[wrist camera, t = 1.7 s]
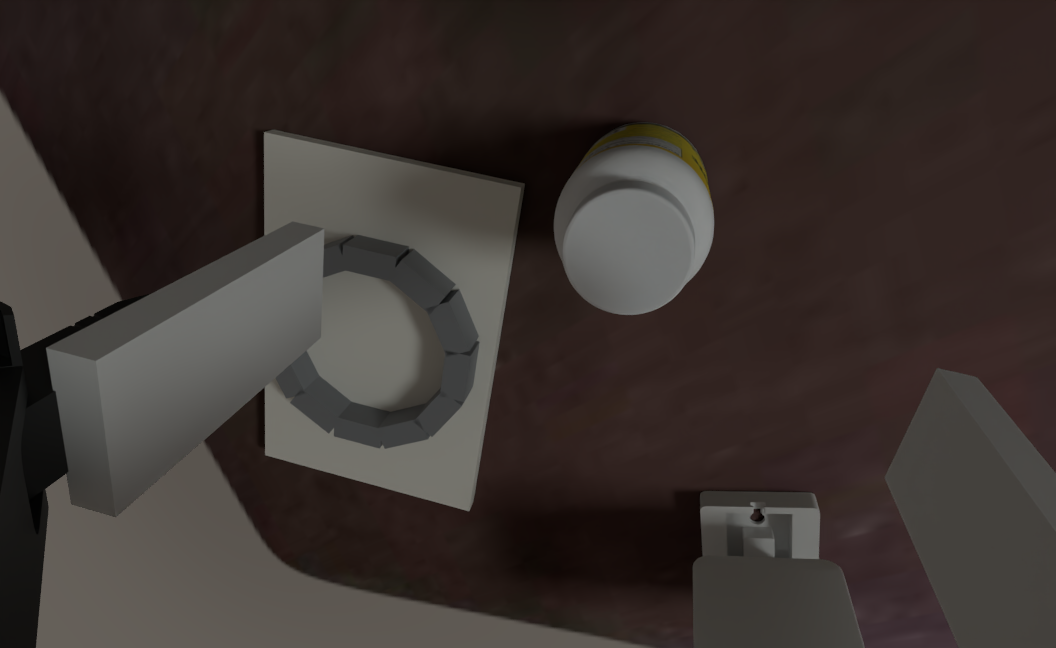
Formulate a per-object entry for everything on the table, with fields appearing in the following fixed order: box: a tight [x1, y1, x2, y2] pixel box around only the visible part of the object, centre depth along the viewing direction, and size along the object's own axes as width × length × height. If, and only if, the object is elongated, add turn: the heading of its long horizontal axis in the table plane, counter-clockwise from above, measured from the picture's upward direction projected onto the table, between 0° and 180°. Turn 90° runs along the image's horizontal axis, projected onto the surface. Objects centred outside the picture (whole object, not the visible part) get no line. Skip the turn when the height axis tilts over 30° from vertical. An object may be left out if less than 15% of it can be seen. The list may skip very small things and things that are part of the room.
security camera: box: [693, 491, 865, 648], centre depth 31 cm, size 6×7×10 cm
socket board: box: [264, 130, 525, 511], centre depth 34 cm, size 18×12×2 cm, turn 170°
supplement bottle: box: [554, 122, 714, 315], centre depth 25 cm, size 5×5×10 cm
